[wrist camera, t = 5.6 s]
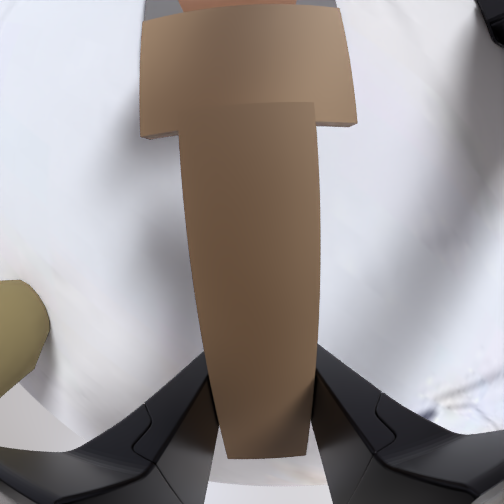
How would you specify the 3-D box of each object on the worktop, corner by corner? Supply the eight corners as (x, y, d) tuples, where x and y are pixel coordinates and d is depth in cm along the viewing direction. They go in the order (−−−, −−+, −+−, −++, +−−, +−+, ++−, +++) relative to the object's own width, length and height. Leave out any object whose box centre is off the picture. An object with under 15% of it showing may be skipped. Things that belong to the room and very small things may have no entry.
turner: (333, 19, 6) (360, -30, 4) (336, 393, 10) (354, 447, 7) (150, 31, 7) (114, -12, 4) (192, 400, 10) (179, 455, 8)
